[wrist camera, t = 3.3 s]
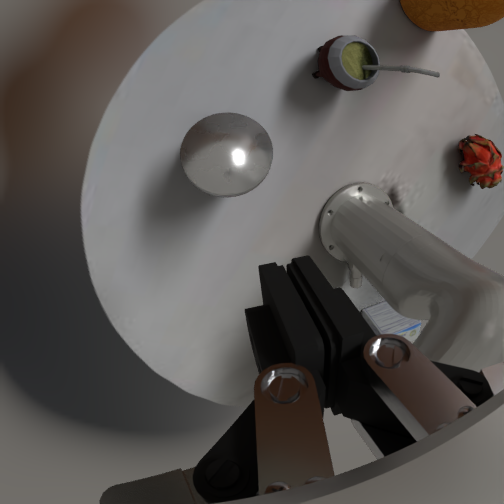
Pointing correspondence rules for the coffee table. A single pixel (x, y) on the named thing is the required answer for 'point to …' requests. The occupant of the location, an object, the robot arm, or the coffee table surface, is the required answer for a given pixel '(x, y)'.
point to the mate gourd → (354, 63)
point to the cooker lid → (226, 154)
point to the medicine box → (391, 321)
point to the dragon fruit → (481, 161)
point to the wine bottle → (453, 13)
